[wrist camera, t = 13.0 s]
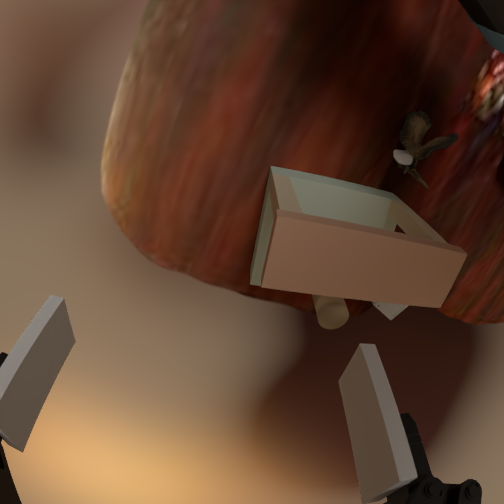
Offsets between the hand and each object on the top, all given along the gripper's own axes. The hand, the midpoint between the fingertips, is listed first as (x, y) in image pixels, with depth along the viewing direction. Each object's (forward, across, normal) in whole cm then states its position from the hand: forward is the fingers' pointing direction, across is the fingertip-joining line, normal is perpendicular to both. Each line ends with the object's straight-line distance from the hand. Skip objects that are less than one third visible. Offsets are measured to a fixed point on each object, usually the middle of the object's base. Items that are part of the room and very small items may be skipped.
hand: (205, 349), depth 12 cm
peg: (+31, +13, -11) cm, 35 cm away
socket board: (+31, +13, -7) cm, 34 cm away
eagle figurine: (+31, +23, +9) cm, 40 cm away
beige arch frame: (+27, +13, -2) cm, 30 cm away
